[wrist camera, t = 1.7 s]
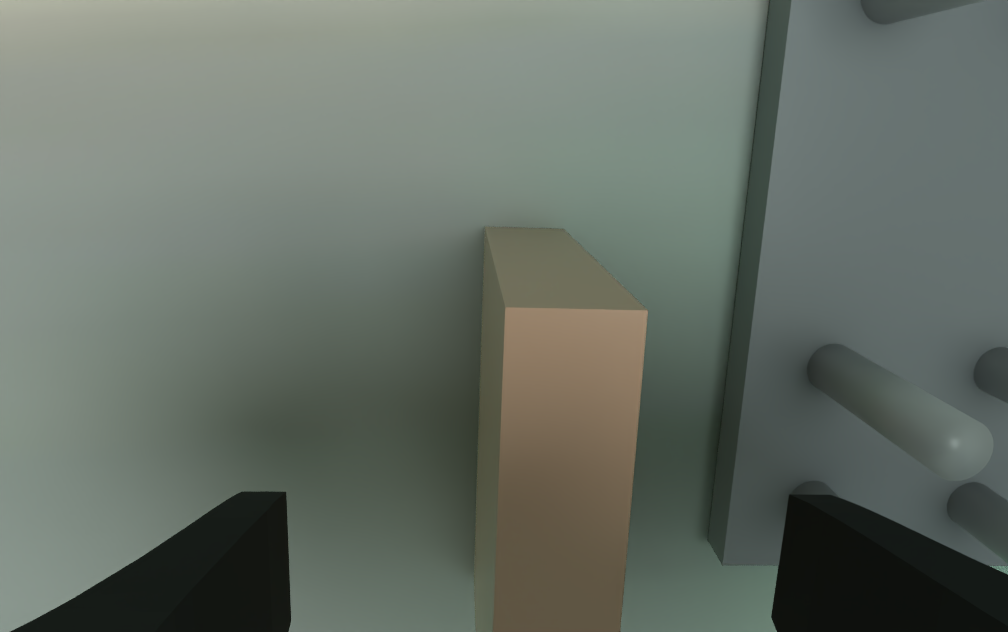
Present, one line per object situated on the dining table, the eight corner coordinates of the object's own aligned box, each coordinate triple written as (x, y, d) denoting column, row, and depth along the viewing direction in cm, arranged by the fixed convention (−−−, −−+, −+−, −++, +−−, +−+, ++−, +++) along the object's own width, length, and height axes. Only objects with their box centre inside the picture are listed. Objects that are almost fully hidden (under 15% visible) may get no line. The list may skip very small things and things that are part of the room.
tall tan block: (543, 576, 17) (599, 873, 10) (473, 576, 17) (483, 876, 10) (563, 228, 15) (647, 310, 8) (484, 226, 15) (504, 306, 8)
